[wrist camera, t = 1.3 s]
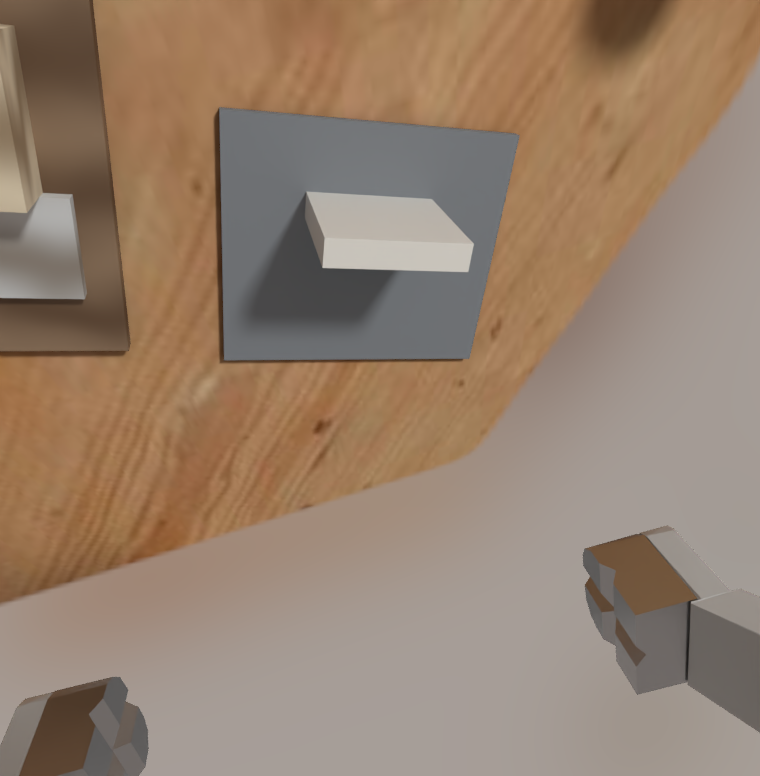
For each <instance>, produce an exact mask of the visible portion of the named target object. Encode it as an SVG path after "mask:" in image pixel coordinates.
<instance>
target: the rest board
mask: <svg viewBox="0 0 760 776" xmlns="http://www.w3.org/2000/svg"><path fill="white" fill-rule="evenodd" d="M0 24H4V25H13V26H14V28H15V34H16V40H17V45H18V51H19V57H20V63H21V69H22V75H23V80H24V86H25V92H26V98H27V104H28V110H29V115H30V121H31V127H32V133H33V139H34V145H35V150H36V156H37V162H38V168H39V174H40V180H41V185H42V191H43V193H55V194H73V201H74V208H75V215H76V222H77V228H78V235H79V242H80V249H81V256H82V263H83V269H84V276H85V283H86V290H87V295H86V297H85V299H34V298H0V351H129V347H130V335H129V326H128V317H127V308H126V299H125V290H124V280H123V271H122V262H121V253H120V244H119V235H118V226H117V217H116V208H115V199H114V190H113V181H112V172H111V163H110V154H109V145H108V136H107V127H106V118H105V109H104V100H103V91H102V82H101V73H100V64H99V55H98V46H97V37H96V28H95V19H94V9H93V0H0Z"/></svg>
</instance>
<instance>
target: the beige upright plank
mask: <svg viewBox="0 0 760 776" xmlns="http://www.w3.org/2000/svg"><path fill="white" fill-rule="evenodd" d="M86 295H87V290H86V283H85V276H84V269H83V263H82V256H81V249H80V242H79V235H78V228H77V222H76V215H75V208H74V201H73V194H55V193H43V191H42V185H41V180H40V174H39V168H38V162H37V156H36V150H35V145H34V139H33V133H32V127H31V121H30V115H29V110H28V104H27V98H26V92H25V86H24V80H23V75H22V69H21V63H20V57H19V51H18V45H17V40H16V34H15V28H14V26H13V25H4V24H0V298H34V299H85V297H86Z"/></svg>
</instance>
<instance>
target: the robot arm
mask: <svg viewBox="0 0 760 776" xmlns="http://www.w3.org/2000/svg"><path fill="white" fill-rule="evenodd" d="M583 566H584V567H585V569H586V571H587V572H588V574H589V575H590V578H589V579H588V581H587V582H586V584H585V591H586V600H587V603H588V607H589V609H590V613H591V616H592V618H593V620H594V623H595V625H596V627H597V628H598V630H599V632H600V634H601V636H602V637H603V639H604V640H606V641H608V642H610V643H612V644H613V645H615V646H616V658H617V659H616V660H617V662H618V664H619V666H620V667H621V669H622V671H623V672H624V674H625V675H626V677H627V679H628V680H629V682H630V684H631V685H632V687H633V688H634V690H635V692H636V693H637V694H642V693H646V692H649V691H654V690H657V689H661V688H665V687H669V686H673V685H677V684H681V683H685V682H688V685H689V686H690V687H692V688H693V689H695V690H696V691H698V692H699V693H701V694H702V695H704V696H706V697H707V698H709V699H710V700H711V701H713V702H714V703H716V704H717V705H719V706H721V707H722V708H724V709H725V710H727V711H728V712H730V713H731V714H733V715H734V716H736V717H737V718H739V719H740V720H742V721H743V722H745V723H746V724H748V725H749V726H751V727H752V728H754V729H755V730H757V731H758V732H760V597H759V596H757V595H754V594H752V593H750V592H747V591H745V590H742V589H736V590H732V591H731V590H730V589H729V588H728V587H727V585H726V584H725V583H724V582H723V581H722V580H721V579H720V578H719V577H718V576H717V575H716V574H715V573H714V572H713V570H712V569H711V568H710V567H709V566H708V565H707V564H706V563H705V562H704V561H703V560H702V559H701V558H700V556H699V555H698V554H697V553H696V552H695V551H694V550H693V549H692V548H691V547H690V546H689V545H688V543H687V542H686V541H685V540H684V539H683V538H682V537H681V536H680V535H679V534H678V533H677V532H676V531H675V529H674V528H672V527H669V526H664V527H660V528H656V529H653V530H649V531H646V532H642V533H640V534H635V535H631V536H628V537H624V538H621V539H617V540H614V541H610V542H607V543H603V544H599V545H596V546H593V547H589V548H585V549H584V553H583ZM127 692H128V689H127V687H126V686H125V684H124V683H123V681H122V680H121V678H120V677H111V678H107V679H103V680H98V681H94V682H91V683H86V684H82V685H78V686H74V687H70V688H66V689H62V690H57V691H55V692H52V693H48V694H44V695H39V696H35V697H31V698H27V699H25V700H24V701H23V702H22V703H21V704H20V705H19V706H18V707H17V709H16V710H15V713H14V715H13V718H12V720H11V722H10V725H9V727H8V729H7V732H6V734H5V736H4V739H3V741H2V743H1V746H0V776H139V774H140V773H141V772H142V770H143V769H144V768H145V766H146V759H147V754H148V729H147V726H146V723H145V719H144V716H143V715H142V713H141V711H140V709H139V707H137V706H135V705H133V704H130V703H128V702H126V697H127Z"/></svg>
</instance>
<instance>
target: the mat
mask: <svg viewBox="0 0 760 776" xmlns="http://www.w3.org/2000/svg"><path fill="white" fill-rule="evenodd" d="M219 117H220V169H221V222H222V274H223V327H224V360H335V359H469V358H470V353H471V349H472V344H473V340H474V335H475V331H476V326H477V322H478V318H479V313H480V309H481V304H482V300H483V295H484V291H485V287H486V282H487V278H488V273H489V269H490V264H491V260H492V256H493V251H494V247H495V242H496V238H497V233H498V229H499V224H500V220H501V216H502V211H503V207H504V202H505V198H506V193H507V189H508V185H509V180H510V176H511V171H512V167H513V162H514V158H515V153H516V149H517V145H518V140H519V135H517V134H514V133H503V132H492V131H481V130H469V129H458V128H447V127H436V126H424V125H413V124H402V123H391V122H379V121H368V120H357V119H346V118H334V117H323V116H312V115H301V114H289V113H278V112H267V111H256V110H244V109H233V108H222V107H219ZM306 192H322V193H339V194H356V195H373V196H390V197H407V198H424V199H432V200H433V201H434V202H435V203H436V204H437V205H438V206H439V207H440V208H441V209H442V210H443V211H444V213H445V214H446V215H447V216H448V217H449V218H450V219H451V220H452V221H453V222H454V223H455V224H456V225H457V226H458V227H459V229H460V230H461V231H462V232H463V233H464V234H465V235H466V236H467V237H468V238H469V239H470V240H471V241H472V242H473V243H474V246H473V251H472V256H471V261H470V266H469V271H468V272H444V271H409V270H375V269H341V268H322V265H321V262H320V259H319V257H318V254H317V251H316V248H315V245H314V242H313V240H312V237H311V234H310V231H309V228H308V225H307V223H306V220H305V204H306Z"/></svg>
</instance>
